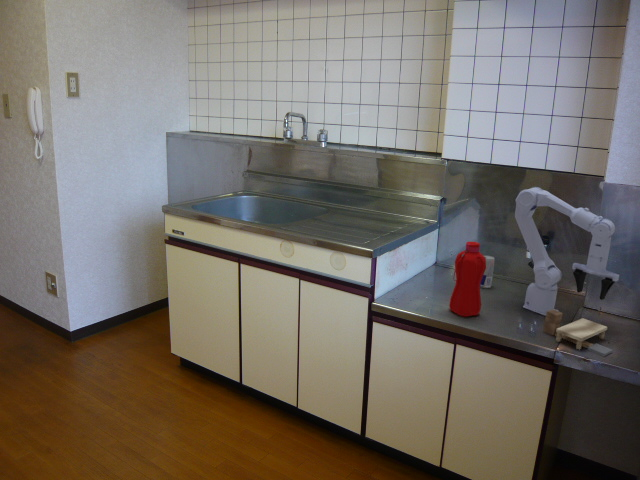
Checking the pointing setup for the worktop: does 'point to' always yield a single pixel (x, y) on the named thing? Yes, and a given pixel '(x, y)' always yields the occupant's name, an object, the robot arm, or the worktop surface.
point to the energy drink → (488, 272)
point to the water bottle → (468, 281)
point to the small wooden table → (581, 331)
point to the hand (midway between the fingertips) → (590, 295)
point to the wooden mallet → (558, 326)
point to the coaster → (600, 350)
